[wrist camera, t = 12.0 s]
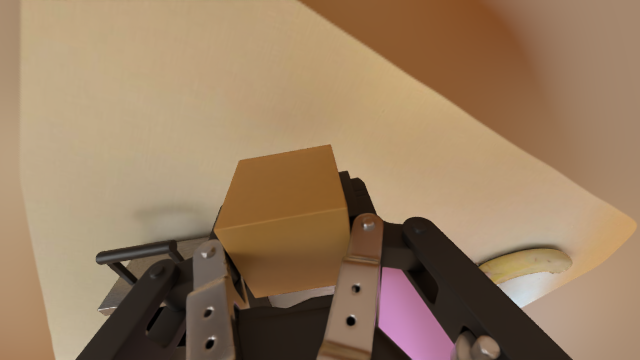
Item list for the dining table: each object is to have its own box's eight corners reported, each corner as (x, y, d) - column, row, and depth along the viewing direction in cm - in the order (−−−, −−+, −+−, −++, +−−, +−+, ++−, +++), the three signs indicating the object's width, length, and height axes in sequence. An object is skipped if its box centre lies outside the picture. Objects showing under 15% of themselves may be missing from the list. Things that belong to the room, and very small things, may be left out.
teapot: (360, 239, 32) (399, 379, 20) (473, 267, 38) (557, 388, 26) (300, 318, 44) (302, 438, 31) (395, 330, 50) (427, 434, 37)
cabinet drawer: (112, 220, 26) (56, 282, 20) (204, 204, 26) (176, 262, 20) (190, 303, 37) (170, 360, 31) (256, 293, 36) (248, 348, 30)
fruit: (479, 248, 35) (493, 267, 33) (575, 239, 36) (598, 258, 33) (464, 275, 40) (476, 295, 37) (551, 267, 40) (569, 286, 37)
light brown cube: (265, 224, 16) (255, 299, 12) (238, 160, 13) (212, 230, 9) (340, 211, 16) (356, 282, 11) (330, 143, 13) (347, 207, 9)
